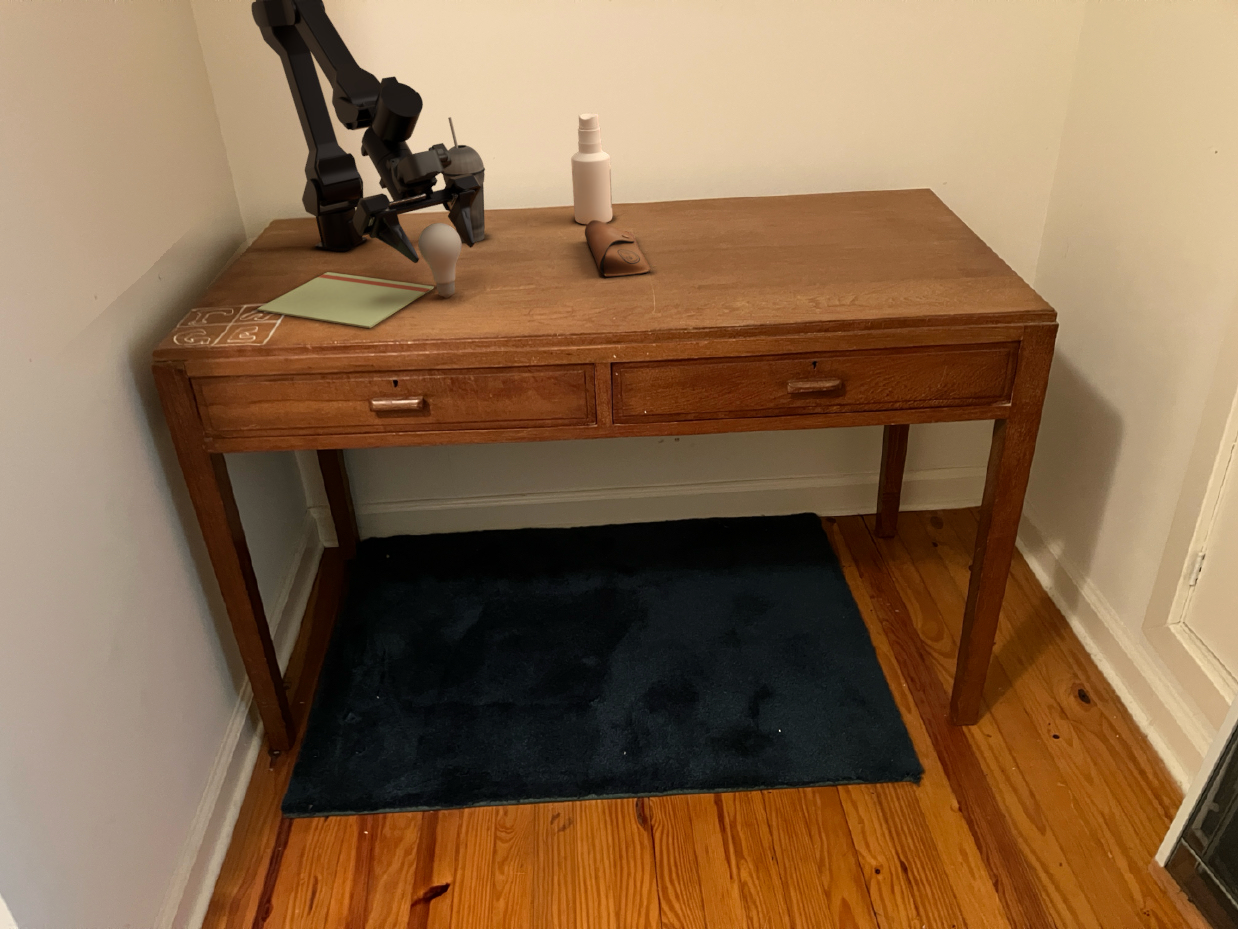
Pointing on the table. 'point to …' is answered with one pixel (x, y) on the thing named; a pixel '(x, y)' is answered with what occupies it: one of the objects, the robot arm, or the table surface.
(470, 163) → the beverage cup
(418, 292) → the cloth
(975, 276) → the table surface
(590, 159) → the spray bottle
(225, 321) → the table surface
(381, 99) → the robot arm
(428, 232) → the lightbulb
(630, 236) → the sunglasses case
